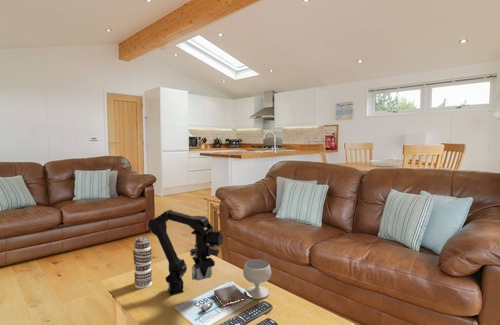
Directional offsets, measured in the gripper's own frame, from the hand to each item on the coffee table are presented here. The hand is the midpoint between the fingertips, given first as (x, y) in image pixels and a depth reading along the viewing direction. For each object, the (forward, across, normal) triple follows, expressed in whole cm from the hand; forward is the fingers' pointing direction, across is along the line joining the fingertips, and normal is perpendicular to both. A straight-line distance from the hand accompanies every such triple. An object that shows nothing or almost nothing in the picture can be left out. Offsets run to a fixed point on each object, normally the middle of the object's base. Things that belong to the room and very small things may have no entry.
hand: (202, 274), depth 141 cm
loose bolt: (+11, -11, +1) cm, 15 cm away
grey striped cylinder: (+11, +26, +23) cm, 37 cm away
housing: (+1, 0, 0) cm, 1 cm away
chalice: (+11, -11, -25) cm, 29 cm away
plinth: (+11, -8, -11) cm, 17 cm away
